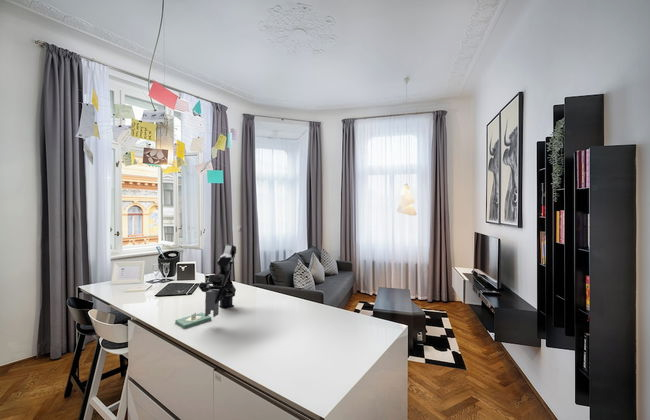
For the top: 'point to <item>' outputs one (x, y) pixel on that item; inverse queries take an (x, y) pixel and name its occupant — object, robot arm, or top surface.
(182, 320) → the board
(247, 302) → the top surface
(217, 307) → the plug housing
